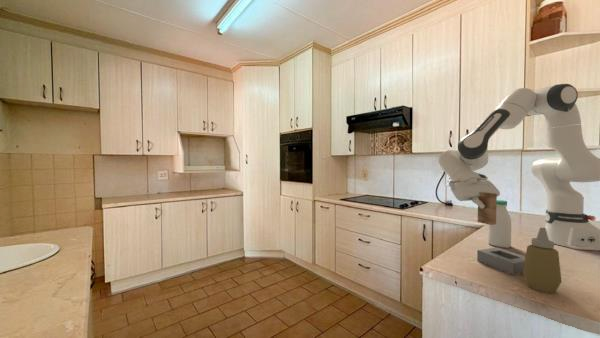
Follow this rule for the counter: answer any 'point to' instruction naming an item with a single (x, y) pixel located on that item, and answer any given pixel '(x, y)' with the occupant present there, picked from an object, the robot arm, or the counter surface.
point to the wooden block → (487, 208)
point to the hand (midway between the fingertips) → (488, 207)
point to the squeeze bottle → (542, 264)
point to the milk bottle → (500, 227)
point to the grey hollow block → (502, 260)
